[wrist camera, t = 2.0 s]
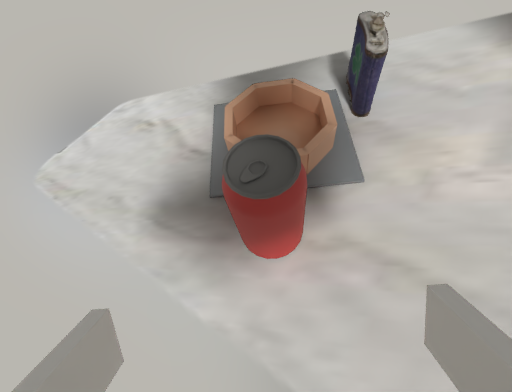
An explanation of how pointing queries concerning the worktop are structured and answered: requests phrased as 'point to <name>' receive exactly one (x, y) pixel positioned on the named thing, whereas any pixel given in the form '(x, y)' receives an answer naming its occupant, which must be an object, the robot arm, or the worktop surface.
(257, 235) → the beer can
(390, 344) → the worktop surface
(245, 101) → the dish
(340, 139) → the mat
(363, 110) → the flask
